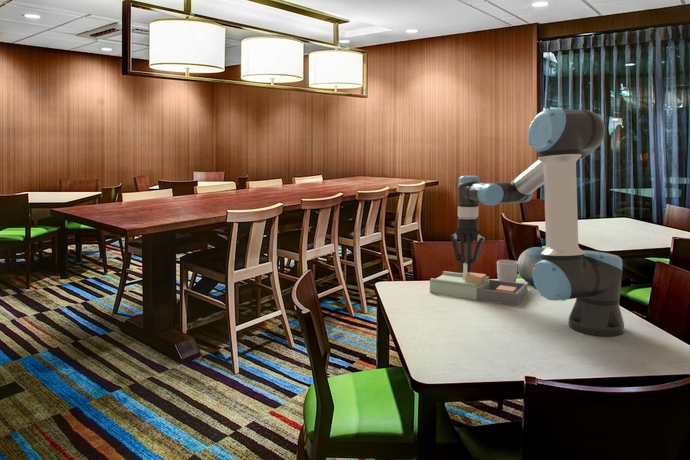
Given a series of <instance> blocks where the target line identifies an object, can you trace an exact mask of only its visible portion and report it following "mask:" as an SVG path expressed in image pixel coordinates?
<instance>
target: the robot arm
mask: <svg viewBox="0 0 690 460" xmlns="http://www.w3.org/2000/svg"><path fill="white" fill-rule="evenodd" d="M605 126H606V125H605V123H604V120H603V119H602V117H600V115H599V114H597V113H595V112H594V111H592V110H588V109H568V108H567V109H566V108H565V109H564V108H553V109H552V108H551V109H550V108H549V109H545V110H542V111H540V112H539V113H537V114H536V115H535V117H534V118H533V120H532V121H531V122H530V125H529V128H528V132H527V141H528V145H529V146H530V148H531V149H532V150H534V151H535V152H537V160H536V161H534V162H533V163H532V164H530V166H529V167H527V168H526V169H525V170H524V171H523V172H521V173H520V174H519V175H518V176H516V177H515V178H514V179H513V180H511V181H502V182H501V181H500V182H499V181H497V182H481V181H480V177H479V176H477V175H461V176H460V177H459V178H458V186H457V217H458V218H457V219H456V220H457V222H456V223H457V225H456V230H455V232H454V234H451V235H450V236H449V238H450V241H452V247H453V252H454V257H455V260H456V261H457V262H460V271H461V272H462V273H463V280H464V281H465V276H466V275H467V274H469V273H470V272H471V273H472V270H473V269H472V268H473V263H475V262H478V258H479V255H480V251H481V248H482V244H483V242H484V241H485V240H486V237H485V236H482V235H480V232H479V218H478V217H479V205H480V204H481V205H485V206H496V205H498V204H500V205H501V204H502V205H503V204H521V203H528V202H530V201H531V200H532V198H533V196H534V192H535V191H537V190H538V189H539V188H540V187H541V186H544V187H543V190H544V191H543V192H544V193H543V195H544V219H545V220H544V221H545V222H544V223H545V225H544V226H545V249H544V250H543V251H542V252H541V261H539V262H538V263H536V265H535V267H534V268H533V273H532V275H533V282H534V284H535V285H534V284H533V285H534V286H535V288H536V290H537V292H539V294H540V295H541V296H542V297H543V298H545V299H546V300H548V301H561V302H562V301H564V302H565V301H567V300H572V299H575V303H574V305H573V306H572V309H571V311H570V314H569V315H568V322H567V323H568V326H569V327H570V328H571V329H572V330H575V331H577V332H579V333H583V334H587V335H592V336H598V337H599V336H601V337H613V336H619V335H622V334H624V332H625V321H624V318H623V314H622V311H621V307H620V298H621V288H622V279H623V278H622V277H623V259H622V258H621V257H620V256H619V255H616V254H614V253H613V254H612V253H610V252H604V251H603V252H602V251H596V250H585V249H584V250H583V249H582V248H580V247H579V227H578V226H579V224H578V223H579V222H578V218H579V217H578V194H577V193H578V188H577V187H578V186H577V185H578V184H577V161H578V160H582V159H585V158H586V157H587V156H589V155H590V154H592V153H593V152H594V151H595V150H596V149H597V148H599V146H601V144H602V142H603V140H604V138H605V134H606V127H605ZM458 239H459V241H460V246H459V242H458ZM476 239H477V240H476ZM475 241H477V242H476V245H475V249H474V250H473V248H474V242H475Z"/></svg>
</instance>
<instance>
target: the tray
mask: <svg viewBox="0 0 690 460" xmlns="http://www.w3.org/2000/svg"><path fill="white" fill-rule="evenodd" d="M500 285H503V286H510V287H517V292H516V293H510V292H502V291H496V288H498V287H499V286H500ZM527 295H528V283H524V282H523V283H522V282H517V281H516V282H508V281H500V280H498V279H490V278H489V284H488V285H486V286H485V287H484V288H483V289H480V288H478V289H477V299H476V300H478V301H483V302H490V303H497V304H503V305H509V306H510V305H511V306H518V305H519V303H521V301H523V299H524V298H525V297H526V296H527Z"/></svg>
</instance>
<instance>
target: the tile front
mask: <svg viewBox="0 0 690 460" xmlns="http://www.w3.org/2000/svg"><path fill="white" fill-rule="evenodd" d="M496 291H502V292H510V293H516V292H517V287H510V286H503V285H500V286H499V287H498V288H496Z"/></svg>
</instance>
